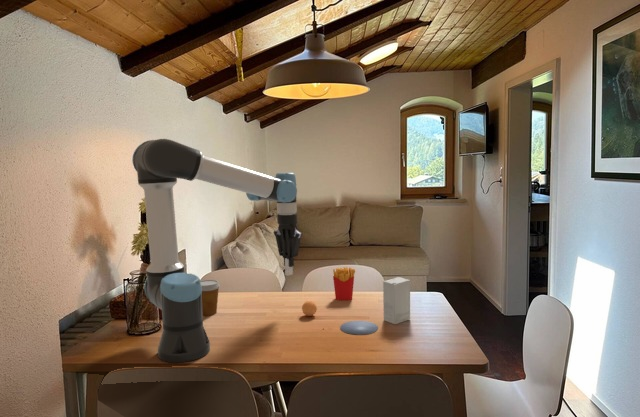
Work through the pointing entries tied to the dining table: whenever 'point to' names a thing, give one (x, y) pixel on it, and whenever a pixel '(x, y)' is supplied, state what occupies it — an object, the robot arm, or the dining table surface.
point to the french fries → (343, 283)
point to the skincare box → (396, 300)
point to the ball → (309, 308)
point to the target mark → (359, 327)
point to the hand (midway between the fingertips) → (289, 274)
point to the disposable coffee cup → (209, 296)
